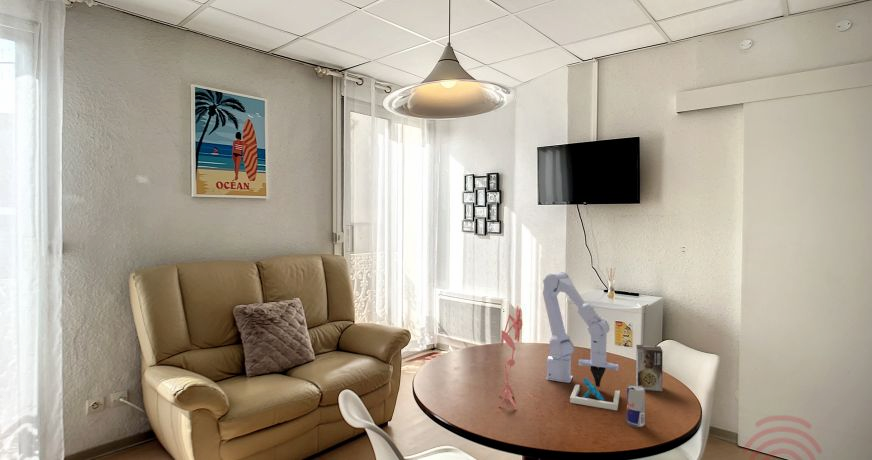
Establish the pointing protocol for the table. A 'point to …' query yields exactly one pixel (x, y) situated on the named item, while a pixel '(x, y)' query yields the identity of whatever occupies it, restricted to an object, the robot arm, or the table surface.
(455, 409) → the table surface
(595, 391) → the gear
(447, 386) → the table surface
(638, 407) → the energy drink
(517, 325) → the figurine
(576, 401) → the bracket
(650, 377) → the coffee box
